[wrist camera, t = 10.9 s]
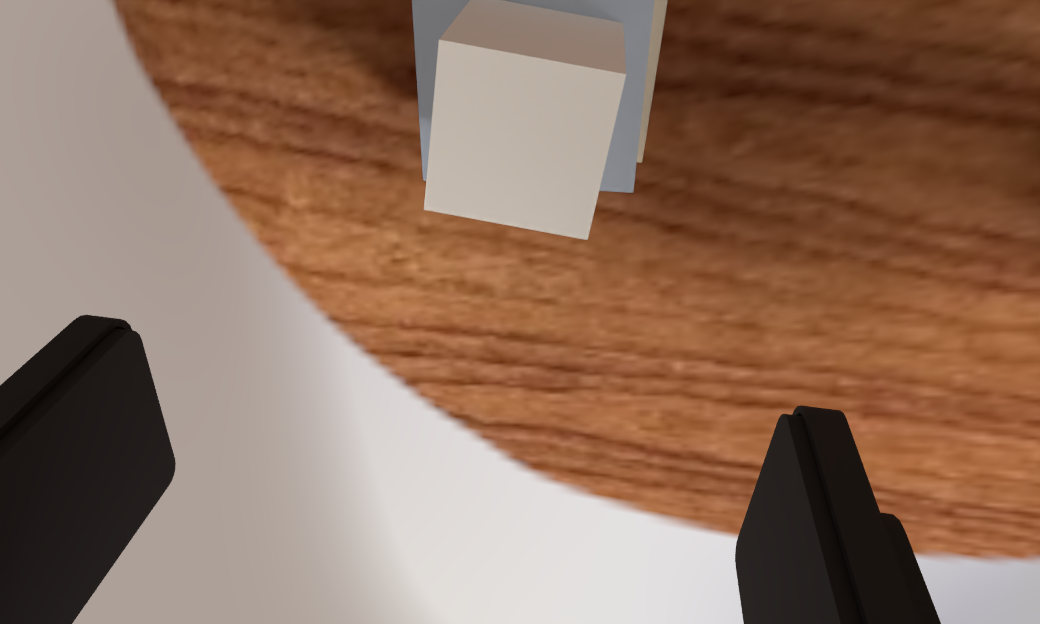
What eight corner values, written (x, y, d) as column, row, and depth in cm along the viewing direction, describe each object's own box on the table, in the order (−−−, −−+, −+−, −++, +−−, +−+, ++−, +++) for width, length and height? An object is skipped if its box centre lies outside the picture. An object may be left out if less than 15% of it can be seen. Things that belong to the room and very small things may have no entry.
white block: (623, 23, 24) (626, 74, 19) (591, 163, 27) (587, 240, 22) (474, -5, 24) (438, 39, 19) (458, 138, 27) (423, 209, 22)
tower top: (653, -60, 26) (658, -42, 23) (631, 152, 31) (633, 192, 28) (433, -67, 27) (408, -50, 24) (443, 142, 32) (423, 180, 28)
